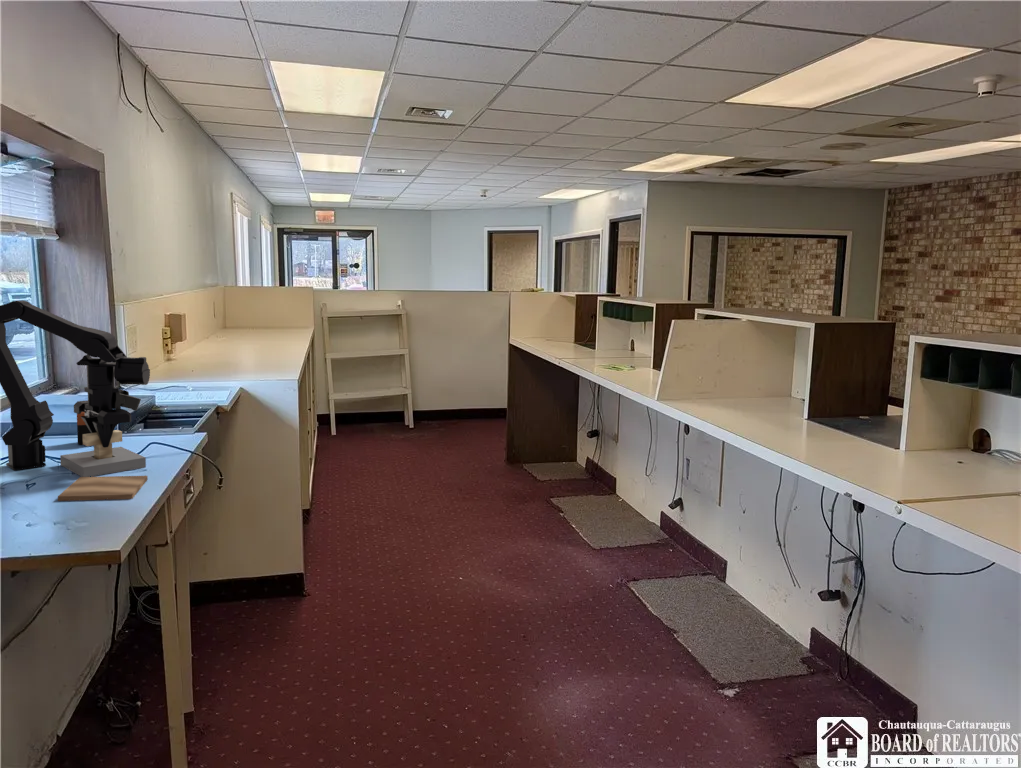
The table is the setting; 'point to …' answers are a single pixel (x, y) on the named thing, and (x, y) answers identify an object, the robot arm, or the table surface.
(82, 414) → the battery
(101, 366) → the robot arm
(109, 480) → the walnut pad
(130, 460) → the keyhole plate
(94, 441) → the t key
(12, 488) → the table surface
